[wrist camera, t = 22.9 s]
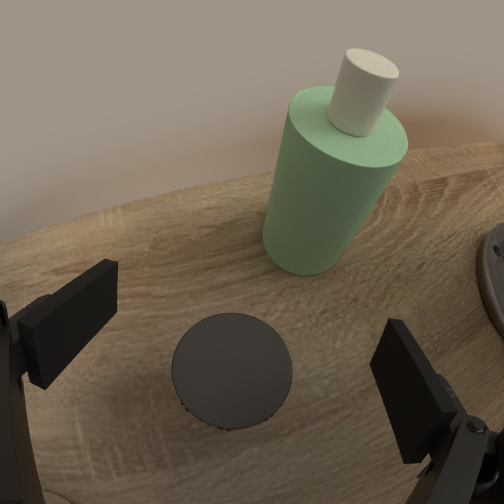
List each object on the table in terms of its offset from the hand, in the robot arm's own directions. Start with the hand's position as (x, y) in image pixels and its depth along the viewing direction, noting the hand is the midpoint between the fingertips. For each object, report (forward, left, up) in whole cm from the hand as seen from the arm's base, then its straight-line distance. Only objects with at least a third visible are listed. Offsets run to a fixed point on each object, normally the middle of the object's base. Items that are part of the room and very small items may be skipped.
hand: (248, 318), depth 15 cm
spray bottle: (-8, -8, -9) cm, 14 cm away
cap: (+1, +2, -9) cm, 9 cm away
